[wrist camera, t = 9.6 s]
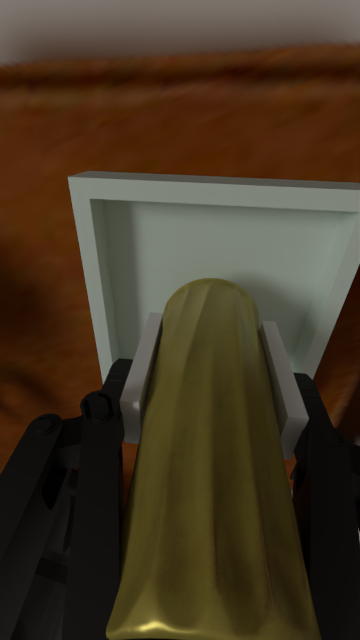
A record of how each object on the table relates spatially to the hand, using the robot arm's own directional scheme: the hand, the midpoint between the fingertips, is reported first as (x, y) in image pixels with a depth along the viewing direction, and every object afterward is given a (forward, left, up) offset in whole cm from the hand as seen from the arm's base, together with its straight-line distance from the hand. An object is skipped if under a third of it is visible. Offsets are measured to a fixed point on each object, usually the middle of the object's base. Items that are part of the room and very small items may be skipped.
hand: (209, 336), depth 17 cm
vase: (0, 0, -2) cm, 2 cm away
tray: (0, 0, -5) cm, 5 cm away
